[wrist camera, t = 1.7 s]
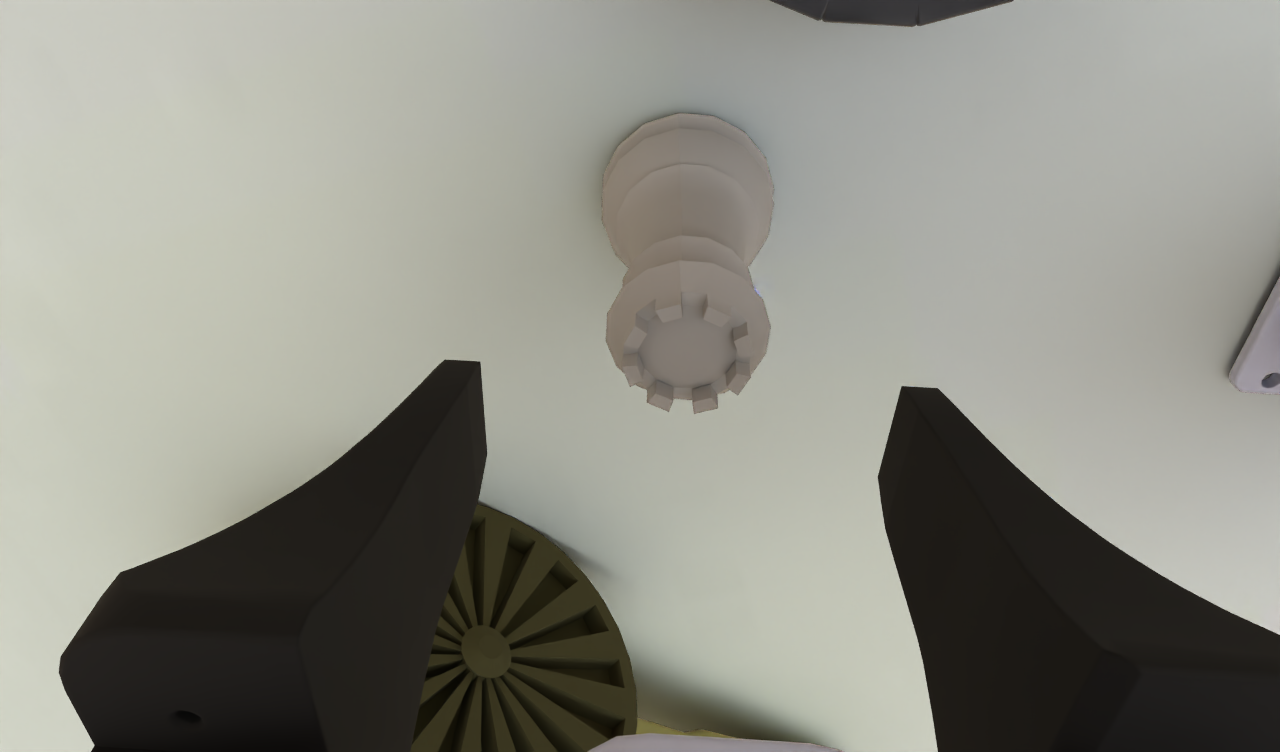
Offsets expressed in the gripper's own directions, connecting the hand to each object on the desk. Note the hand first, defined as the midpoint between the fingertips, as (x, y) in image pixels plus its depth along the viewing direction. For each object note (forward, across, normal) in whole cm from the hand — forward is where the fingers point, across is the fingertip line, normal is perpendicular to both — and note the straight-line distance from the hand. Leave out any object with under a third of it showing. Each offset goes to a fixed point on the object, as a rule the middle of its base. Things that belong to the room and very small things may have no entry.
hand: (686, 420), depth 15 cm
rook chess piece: (+10, 0, 0) cm, 10 cm away
